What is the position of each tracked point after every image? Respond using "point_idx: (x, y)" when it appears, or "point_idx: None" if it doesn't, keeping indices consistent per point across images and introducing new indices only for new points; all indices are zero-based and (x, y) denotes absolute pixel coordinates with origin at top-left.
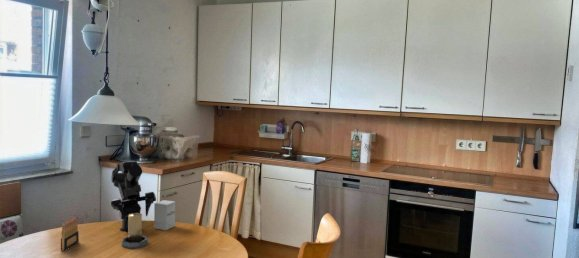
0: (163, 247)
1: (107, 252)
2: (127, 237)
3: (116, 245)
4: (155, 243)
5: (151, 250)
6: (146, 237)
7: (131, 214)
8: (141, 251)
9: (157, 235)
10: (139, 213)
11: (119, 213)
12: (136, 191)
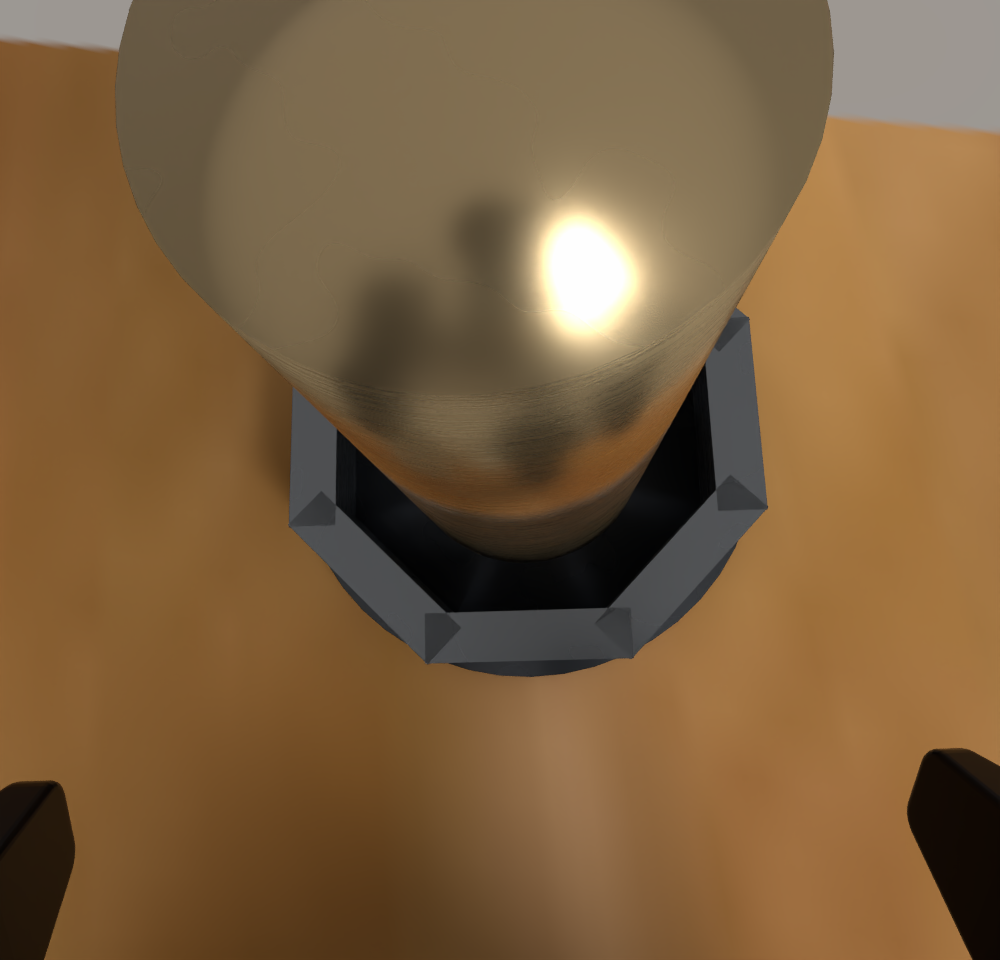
0: (70, 239)
1: (904, 124)
2: (689, 551)
3: (839, 425)
4: (184, 438)
5: None
6: (306, 497)
7: (665, 104)
8: None
9: (138, 907)
10: (235, 253)
11: None
12: None
